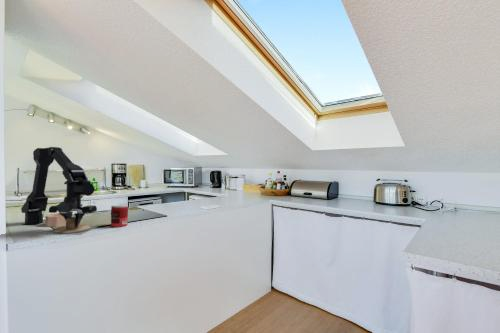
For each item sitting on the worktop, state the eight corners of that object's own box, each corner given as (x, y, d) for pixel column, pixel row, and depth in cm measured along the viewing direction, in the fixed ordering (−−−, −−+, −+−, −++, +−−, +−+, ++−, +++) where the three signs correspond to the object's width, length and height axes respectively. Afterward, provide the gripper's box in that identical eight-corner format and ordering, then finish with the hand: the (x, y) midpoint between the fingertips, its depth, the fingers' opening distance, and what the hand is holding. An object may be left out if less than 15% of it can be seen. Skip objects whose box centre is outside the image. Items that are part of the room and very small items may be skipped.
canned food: (128, 224, 138) (128, 203, 138) (126, 227, 130) (127, 205, 130) (112, 225, 135) (112, 204, 135) (109, 228, 127) (110, 206, 128)
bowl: (40, 227, 127) (41, 217, 127) (55, 222, 137) (55, 213, 137) (62, 227, 128) (63, 217, 128) (75, 222, 138) (76, 213, 138)
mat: (42, 235, 113) (42, 234, 113) (66, 226, 129) (66, 225, 129) (80, 235, 114) (80, 234, 114) (99, 227, 130) (99, 226, 130)
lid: (46, 233, 114) (46, 220, 114) (66, 226, 128) (67, 214, 128) (79, 233, 115) (79, 221, 115) (96, 226, 129) (96, 215, 129)
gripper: (40, 195, 113) (39, 231, 113) (84, 196, 114) (83, 231, 114) (57, 193, 124) (56, 225, 124) (97, 193, 125) (96, 225, 125)
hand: (72, 227), depth 122 cm, fingers closed on lid, 3 cm apart
